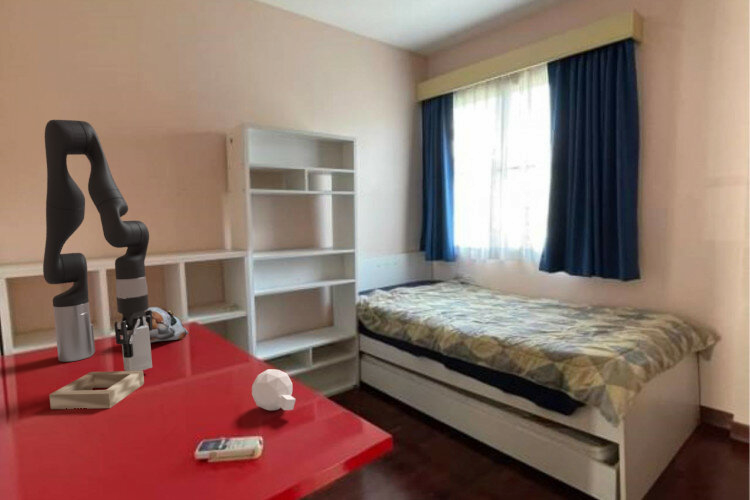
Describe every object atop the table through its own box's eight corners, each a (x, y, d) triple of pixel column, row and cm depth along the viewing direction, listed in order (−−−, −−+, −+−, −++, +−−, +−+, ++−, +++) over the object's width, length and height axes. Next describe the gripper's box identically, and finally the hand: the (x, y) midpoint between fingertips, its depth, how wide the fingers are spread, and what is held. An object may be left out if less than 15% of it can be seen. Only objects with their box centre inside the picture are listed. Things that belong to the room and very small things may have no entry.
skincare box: (146, 364, 123) (143, 323, 122) (153, 368, 120) (150, 326, 119) (122, 371, 118) (119, 328, 117) (129, 375, 115) (126, 331, 114)
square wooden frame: (91, 384, 113) (90, 372, 113) (144, 383, 113) (143, 370, 112) (50, 409, 99) (49, 394, 99) (110, 408, 99) (108, 393, 98)
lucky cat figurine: (195, 336, 156) (183, 304, 147) (162, 360, 147) (146, 327, 138) (169, 318, 164) (156, 287, 155) (135, 340, 155) (120, 307, 146)
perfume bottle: (239, 401, 96) (266, 425, 87) (251, 361, 96) (279, 382, 88) (272, 400, 102) (300, 423, 93) (283, 363, 102) (312, 382, 94)
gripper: (133, 289, 124) (138, 344, 126) (101, 299, 110) (106, 362, 112) (159, 288, 124) (163, 344, 126) (130, 299, 110) (135, 361, 111)
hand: (136, 352), depth 119 cm, fingers closed on skincare box, 7 cm apart
